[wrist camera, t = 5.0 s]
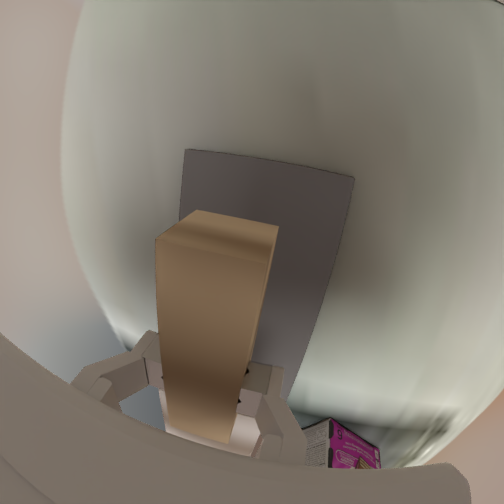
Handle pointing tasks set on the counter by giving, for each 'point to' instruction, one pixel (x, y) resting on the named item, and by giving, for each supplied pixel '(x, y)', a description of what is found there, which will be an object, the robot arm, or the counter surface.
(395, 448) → the counter surface
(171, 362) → the wooden handled scraper
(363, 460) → the candy bar box
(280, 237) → the mat
